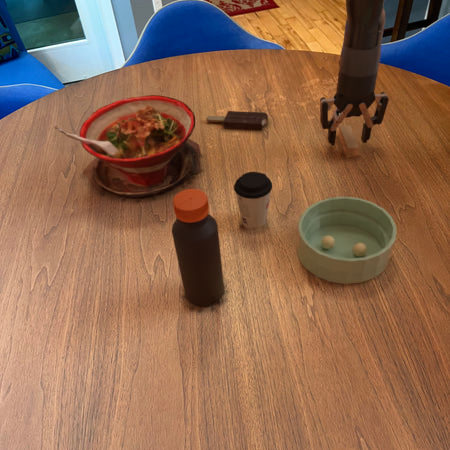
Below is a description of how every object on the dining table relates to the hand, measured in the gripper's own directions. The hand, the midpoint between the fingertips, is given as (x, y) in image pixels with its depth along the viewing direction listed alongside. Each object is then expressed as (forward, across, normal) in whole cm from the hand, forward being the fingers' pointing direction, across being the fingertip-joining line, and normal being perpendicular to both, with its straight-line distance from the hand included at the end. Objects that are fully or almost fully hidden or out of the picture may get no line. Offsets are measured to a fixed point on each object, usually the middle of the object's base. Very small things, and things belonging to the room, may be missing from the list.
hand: (348, 142), depth 106 cm
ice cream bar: (+1, -24, +14) cm, 28 cm away
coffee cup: (+1, -23, -23) cm, 33 cm away
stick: (+1, 0, 0) cm, 1 cm away
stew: (+1, -46, -4) cm, 46 cm away
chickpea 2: (0, -6, -34) cm, 35 cm away
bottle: (+1, -33, -40) cm, 52 cm away
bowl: (+1, -8, -33) cm, 34 cm away
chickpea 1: (0, -11, -32) cm, 34 cm away
